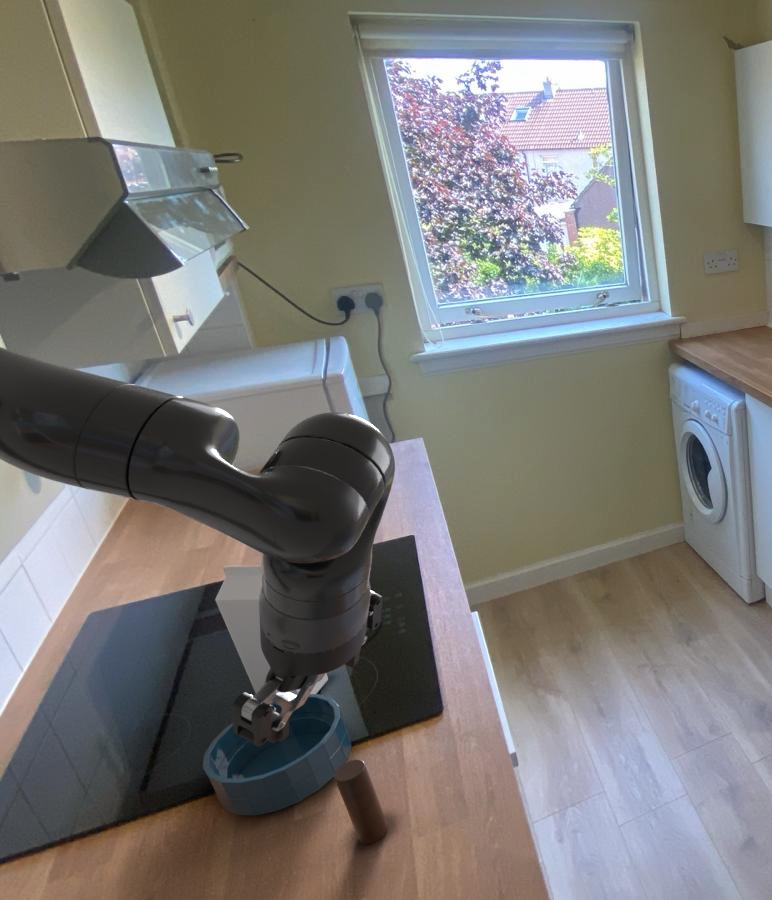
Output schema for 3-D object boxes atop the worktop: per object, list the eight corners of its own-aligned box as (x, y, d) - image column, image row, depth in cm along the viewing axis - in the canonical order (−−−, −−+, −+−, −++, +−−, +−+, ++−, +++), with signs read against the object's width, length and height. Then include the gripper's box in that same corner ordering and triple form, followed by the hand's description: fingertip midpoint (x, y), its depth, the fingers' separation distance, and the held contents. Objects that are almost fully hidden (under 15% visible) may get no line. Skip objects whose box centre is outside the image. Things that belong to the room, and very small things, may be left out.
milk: (289, 680, 108) (238, 553, 99) (329, 679, 108) (282, 552, 99) (261, 710, 103) (204, 579, 94) (304, 709, 103) (251, 578, 94)
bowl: (274, 833, 85) (256, 797, 82) (193, 798, 90) (174, 763, 87) (377, 743, 97) (365, 709, 94) (301, 716, 102) (288, 683, 99)
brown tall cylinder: (372, 847, 83) (347, 784, 79) (352, 839, 84) (327, 776, 80) (394, 825, 85) (371, 763, 81) (375, 818, 86) (351, 756, 82)
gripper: (341, 530, 65) (334, 621, 75) (194, 654, 54) (208, 741, 64) (416, 572, 66) (399, 657, 76) (285, 704, 55) (285, 782, 65)
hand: (311, 695), depth 70 cm, fingers open, 8 cm apart
